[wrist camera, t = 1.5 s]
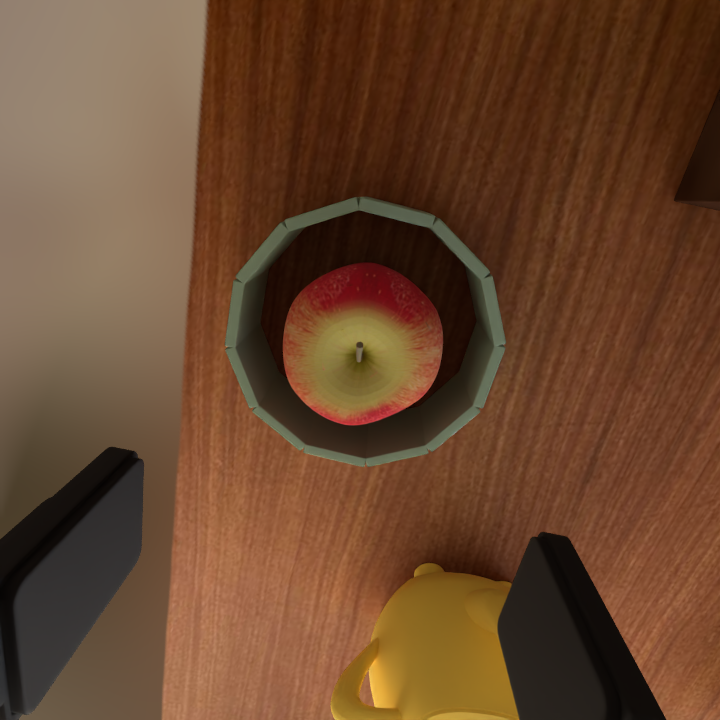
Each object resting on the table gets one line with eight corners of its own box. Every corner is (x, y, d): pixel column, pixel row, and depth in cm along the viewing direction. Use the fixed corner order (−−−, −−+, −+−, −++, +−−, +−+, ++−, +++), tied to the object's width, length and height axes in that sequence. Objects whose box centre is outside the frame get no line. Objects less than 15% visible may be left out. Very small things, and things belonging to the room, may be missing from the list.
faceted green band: (219, 241, 27) (183, 251, 22) (454, 166, 25) (470, 160, 20) (297, 442, 31) (281, 486, 27) (502, 394, 29) (524, 433, 24)
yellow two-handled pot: (580, 631, 36) (666, 828, 25) (422, 688, 39) (436, 884, 28) (501, 506, 32) (562, 672, 21) (335, 580, 35) (311, 757, 24)
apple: (444, 260, 26) (475, 297, 17) (421, 391, 29) (437, 483, 20) (306, 243, 27) (260, 270, 17) (297, 375, 30) (254, 459, 20)
